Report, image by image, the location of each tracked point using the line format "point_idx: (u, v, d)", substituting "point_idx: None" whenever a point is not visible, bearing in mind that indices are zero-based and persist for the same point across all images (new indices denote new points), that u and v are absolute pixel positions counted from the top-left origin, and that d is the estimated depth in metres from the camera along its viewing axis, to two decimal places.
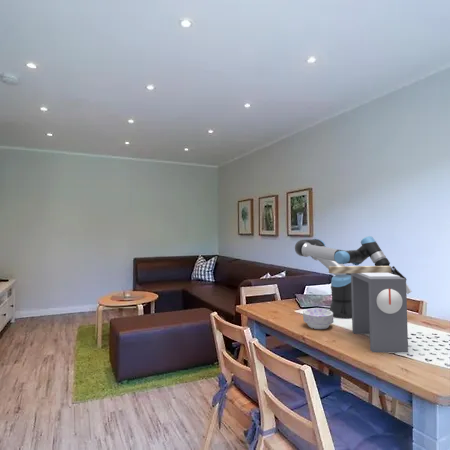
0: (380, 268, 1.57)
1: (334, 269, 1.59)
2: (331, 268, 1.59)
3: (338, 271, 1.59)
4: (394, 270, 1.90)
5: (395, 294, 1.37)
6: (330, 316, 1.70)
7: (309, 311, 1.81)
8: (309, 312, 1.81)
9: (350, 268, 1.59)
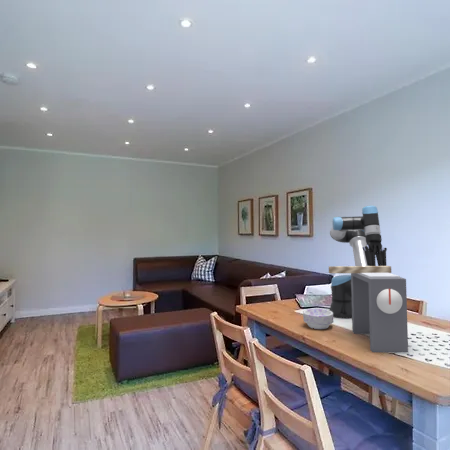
0: (380, 268, 1.57)
1: (334, 269, 1.59)
2: (331, 268, 1.59)
3: (338, 271, 1.59)
4: (383, 251, 1.73)
5: (395, 294, 1.37)
6: (330, 316, 1.70)
7: (309, 311, 1.81)
8: (309, 312, 1.81)
9: (350, 268, 1.59)
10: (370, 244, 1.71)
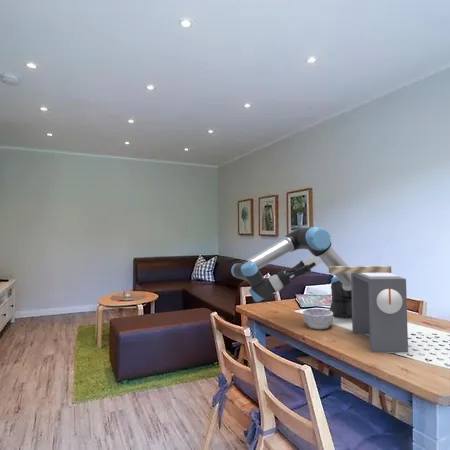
0: (380, 268, 1.57)
1: (334, 269, 1.59)
2: (331, 268, 1.59)
3: (338, 271, 1.59)
4: None
5: (395, 294, 1.37)
6: (330, 316, 1.70)
7: (309, 311, 1.81)
8: (309, 312, 1.81)
9: (350, 268, 1.59)
10: None
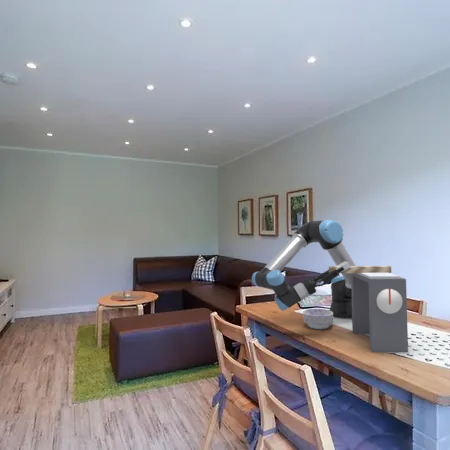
0: (380, 268, 1.57)
1: (334, 269, 1.59)
2: (331, 268, 1.59)
3: None
4: None
5: (395, 294, 1.37)
6: (330, 316, 1.70)
7: (309, 311, 1.81)
8: (309, 312, 1.81)
9: (350, 268, 1.59)
10: None
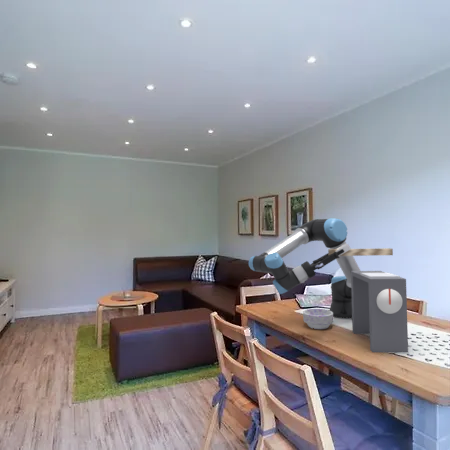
0: (381, 250, 1.54)
1: (334, 251, 1.55)
2: (331, 250, 1.56)
3: None
4: None
5: (395, 294, 1.37)
6: (330, 316, 1.70)
7: (309, 311, 1.81)
8: (309, 312, 1.81)
9: (350, 250, 1.55)
10: None
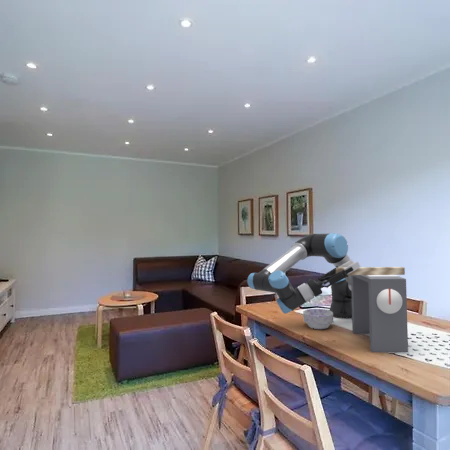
0: (392, 269, 1.44)
1: None
2: (338, 269, 1.45)
3: None
4: None
5: (395, 294, 1.37)
6: (330, 316, 1.70)
7: (309, 311, 1.81)
8: (309, 312, 1.81)
9: (359, 269, 1.45)
10: None
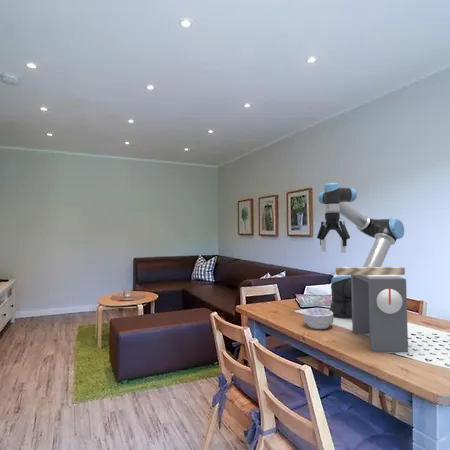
0: (392, 269, 1.44)
1: (342, 270, 1.45)
2: (338, 269, 1.45)
3: (346, 272, 1.45)
4: None
5: (395, 294, 1.37)
6: (330, 316, 1.70)
7: (309, 311, 1.81)
8: (309, 312, 1.81)
9: (359, 269, 1.45)
10: (326, 222, 1.81)
